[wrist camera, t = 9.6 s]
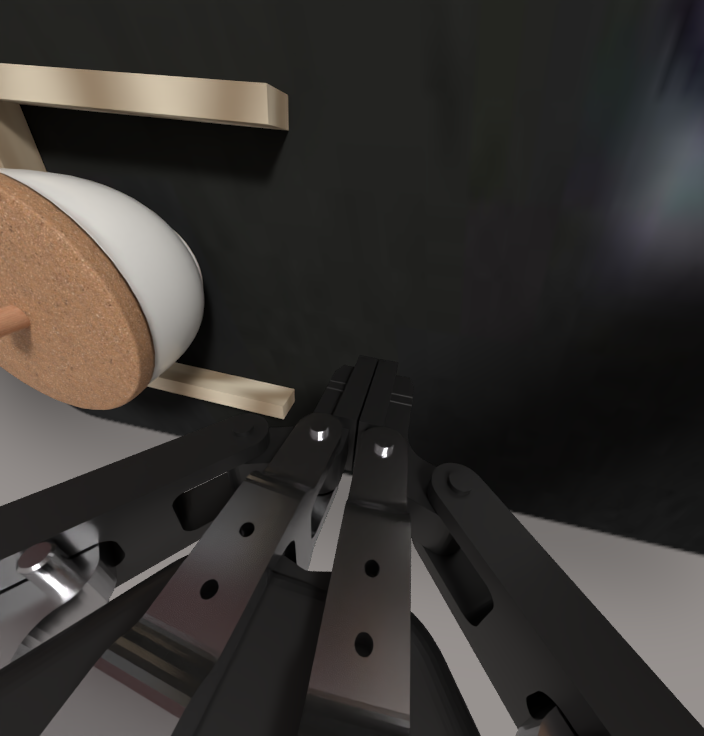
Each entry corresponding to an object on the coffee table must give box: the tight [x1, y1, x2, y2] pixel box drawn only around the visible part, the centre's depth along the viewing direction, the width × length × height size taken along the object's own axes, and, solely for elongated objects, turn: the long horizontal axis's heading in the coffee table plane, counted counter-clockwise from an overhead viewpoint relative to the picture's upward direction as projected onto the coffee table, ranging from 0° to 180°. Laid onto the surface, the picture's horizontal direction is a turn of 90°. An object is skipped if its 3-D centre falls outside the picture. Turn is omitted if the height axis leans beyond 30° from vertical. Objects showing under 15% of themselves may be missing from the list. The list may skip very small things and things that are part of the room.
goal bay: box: [0, 63, 295, 419], centre depth 18 cm, size 16×17×2 cm
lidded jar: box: [0, 168, 204, 410], centre depth 15 cm, size 11×11×9 cm
